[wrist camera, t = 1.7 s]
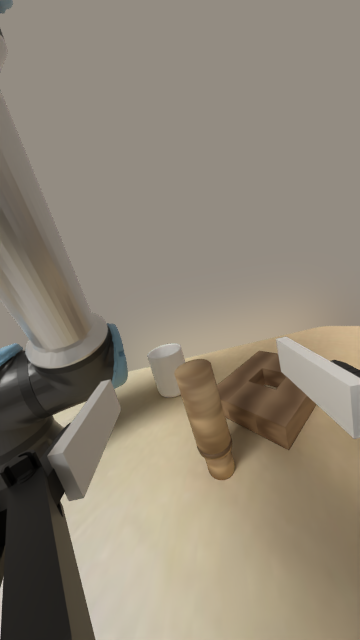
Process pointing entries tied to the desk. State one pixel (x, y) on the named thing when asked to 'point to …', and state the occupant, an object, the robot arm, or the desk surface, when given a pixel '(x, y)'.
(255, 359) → the seat board
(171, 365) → the mug
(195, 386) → the oak leg
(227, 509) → the desk surface
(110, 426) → the robot arm
